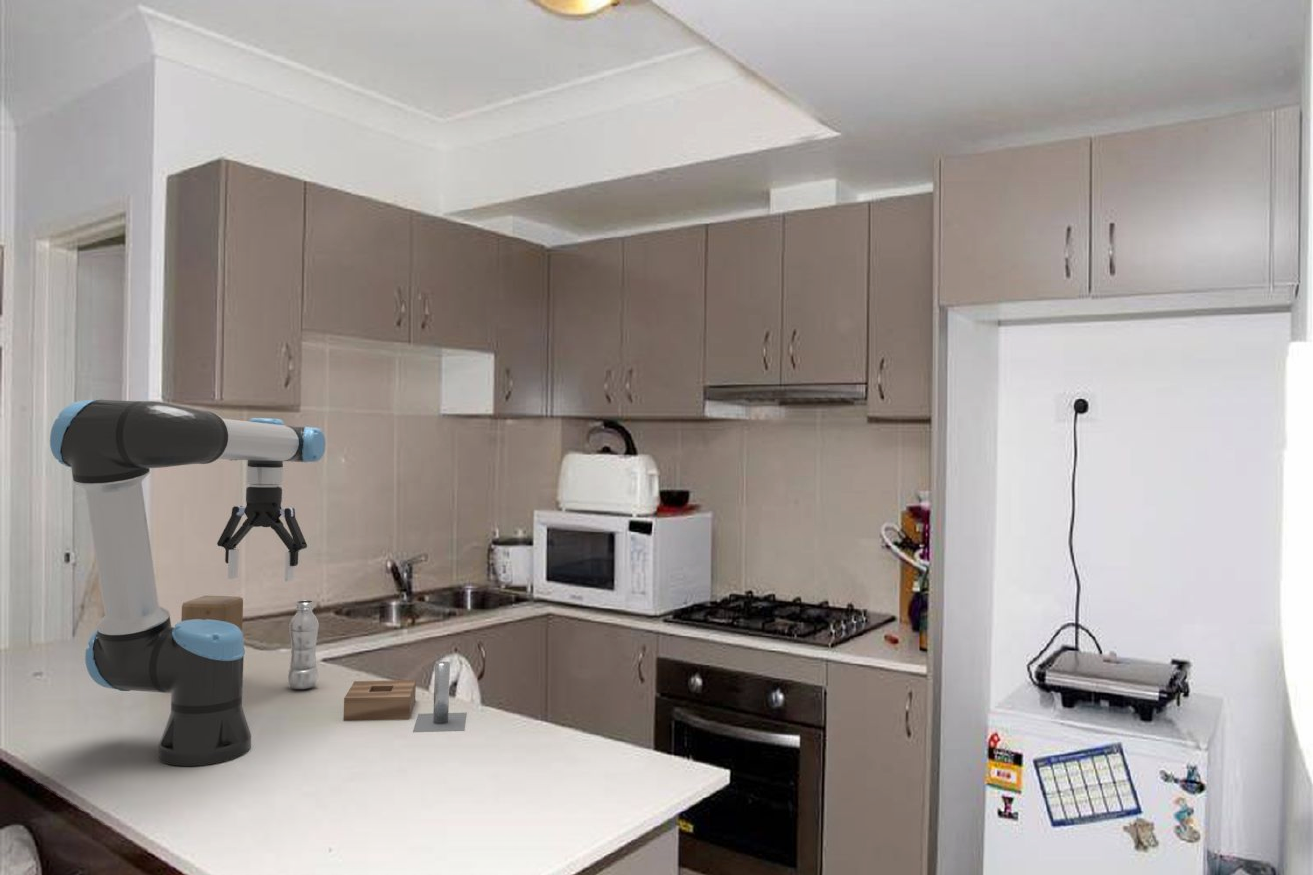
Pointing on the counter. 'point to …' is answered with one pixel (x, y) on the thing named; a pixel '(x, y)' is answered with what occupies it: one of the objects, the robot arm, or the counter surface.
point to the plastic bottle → (303, 647)
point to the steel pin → (441, 692)
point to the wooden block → (214, 609)
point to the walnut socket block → (380, 700)
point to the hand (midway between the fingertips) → (260, 579)
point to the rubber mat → (426, 724)
